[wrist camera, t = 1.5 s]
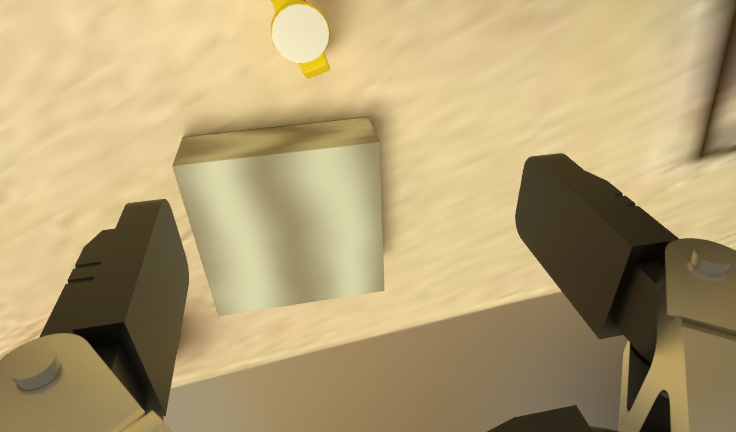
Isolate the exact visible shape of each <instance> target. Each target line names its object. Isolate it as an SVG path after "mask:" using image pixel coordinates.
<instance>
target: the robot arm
mask: <svg viewBox="0 0 736 432" xmlns="http://www.w3.org/2000/svg"><path fill="white" fill-rule="evenodd" d="M515 220H516V227H517V231H518V234H519V236H520V238H521V239H522V241H523V242H524V243H525V244H526V246H527V247H528V248H529V250H530V251H531V252H532V253H533V255H534V256H535V257H536V259H537V260H538V261H539V262H540V264H541V265H542V266H543V268H544V269H545V270H546V271H547V273H548V274H549V275H550V277H551V278H552V279H553V280H554V282H555V283H556V284H557V286H558V287H559V288H560V289H561V291H562V292H563V293H564V294H565V296H566V297H567V298H568V300H569V301H570V302H571V303H572V305H573V306H574V307H575V309H576V310H577V311H578V312H579V314H580V315H581V316H582V318H583V319H584V320H585V321H586V323H587V324H588V325H589V327H590V328H591V329H592V331H593V332H594V333H595V334H596V336H597V337H598V338H599V339H603V338H608V337H614V336H619V335H624V336H625V337H626V338H627V339H628V342H627V345H626V347H625V349H624V353H623V369H622V383H621V399H620V415H619V426H618V431H615V430H611V429H606V428H599V427H593V426H589V425H588V423H587V422H586V420H585V419H584V417H583V416H582V414H581V412H580V411H579V409H578V408H577V406H576V405H574V406H569V407H564V408H559V409H554V410H549V411H545V412H540V413H534V414H529V415H525V416H520V417H515V418H512V419H511V420H509V421H507V422H505V423H503V424H501V425H499V426H497V427H495V428H493V429H491V430H490V431H488V432H736V251H735V250H733V249H731V248H729V247H726V246H724V245H721V244H718V243H715V242H712V241H708V240H702V239H694V238H685V239H679V238H677V237H676V236H675V235H674V234H672V233H671V232H670V231H669V230H668V229H666V228H665V227H664V226H663V225H661V224H660V223H659V222H658V221H656V220H655V219H654V218H653V217H651V216H650V215H649V214H648V213H646V212H645V211H644V210H643V209H641V208H640V207H639V206H635V203H634V202H633V201H632V200H630V199H629V198H628V197H627V196H623V195H622V192H620V191H619V190H618V189H617V188H615V187H614V186H613V185H612V184H610V183H609V182H608V181H606V180H604V179H602V178H600V177H598V176H595V175H593V174H591V173H589V172H587V171H584V170H583V169H582V168H581V167H580V166H578V165H577V164H576V163H575V162H574V161H572V160H571V159H570V158H569V157H568V156H566V155H565V154H563V153H558V154H549V155H541V156H532V157H529V158H528V159H527V160H526V162H525V165H524V169H523V174H522V180H521V186H520V191H519V197H518V203H517V208H516V215H515ZM75 267H76V268H75V269H73V270H72V272H71V274H70V276H69V278H68V284H66V285H65V287H64V289H63V291H62V293H61V295H60V297H59V299H58V301H57V303H56V305H55V307H54V309H53V311H52V313H51V315H50V317H49V319H48V321H47V323H46V325H45V327H44V329H43V331H42V333H41V335H40V337H39V338H37V339H34V340H32V341H29V342H27V343H25V344H23V345H21V346H19V347H18V348H16V349H14V350H13V351H11V352H10V353H8V354H7V355H6V356H4V357H3V358H2V359H1V360H0V432H172V431H171V430H170V429H169V428H168V427H167V425H166V424H165V423H164V422H163V421H162V420H161V418H160V417H161V416H166V410H167V405H168V399H169V393H170V388H171V382H172V376H173V371H174V365H175V359H176V354H177V348H178V342H179V337H180V331H181V325H182V319H183V314H184V308H185V302H186V297H187V291H188V285H189V272H188V264H187V259H186V255H185V252H184V249H183V245H182V242H181V239H180V236H179V232H178V229H177V226H176V222H175V219H174V216H173V213H172V209H171V207H170V204H169V202H168V201H167V200H166V199H160V200H151V201H143V202H134V203H128V204H126V205H125V207H124V210H123V212H122V214H121V217H120V219H119V221H118V224H117V226H116V228H115V229H109V230H102V231H101V232H100V233H99V234H98V235H97V236H96V237H95V238H94V239H92V240H91V241H90V242H89V243H88V244H87V245H86V246H85V247H84V248H83V250H82V252H81V254H80V256H79V258H78V260H77V262H76V264H75Z"/></svg>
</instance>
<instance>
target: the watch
mask: <svg viewBox="0 0 736 432" xmlns="http://www.w3.org/2000/svg"><path fill="white" fill-rule="evenodd" d="M272 3H273V6H274V8H275V11H276V13H275V15H274V17H273V20H272V23H271V36H272V40H273V43H274V46H275V47H276V49H277V50H278V52H279V53H280V54H281V55H282V56H284V57H285V58H286V59H288V60H290V61H293V62H297V63H299V65H300V67H301V70H302V71H303V73H304V75H305V76H306V78H308V79H310V78H312V77H315V76H317V75H319V74H322V73H324V72H327V71H329V70H330V66H329V64H328V61H327V59H326V56H325V53H324V50H325V49H326V47H327V44H328V42H329V34H330V31H329V26H328V22H327V20H326V18H325V17H324V15H323V13H322V12H321V11H320V10H319V9H318V8H317V7H316V6H315V5H313V4H311V3H309V2H307V1H304V0H272Z"/></svg>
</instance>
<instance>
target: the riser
mask: <svg viewBox="0 0 736 432" xmlns="http://www.w3.org/2000/svg"><path fill="white" fill-rule="evenodd" d="M173 170H174V173H175V176H176V179H177V183H178V186H179V189H180V192H181V196H182V199H183V202H184V205H185V209H186V212H187V215H188V219H189V222H190V225H191V228H192V232H193V235H194V238H195V241H196V245H197V248H198V251H199V254H200V258H201V261H202V264H203V267H204V271H205V274H206V277H207V280H208V284H209V287H210V290H211V293H212V297H213V300H214V303H215V306H216V310H217V313H218V316H223V315H229V314H236V313H242V312H249V311H255V310H262V309H269V308H275V307H282V306H288V305H295V304H301V303H308V302H314V301H321V300H327V299H334V298H340V297H347V296H353V295H360V294H366V293H373V292H379V291H384V264H383V233H382V202H381V170H380V142H379V140H378V138H377V136H376V133H375V131H374V129H373V127H372V125H371V123H370V120H369V118H368V117H365V118H356V119H347V120H337V121H328V122H319V123H310V124H301V125H291V126H282V127H273V128H264V129H255V130H245V131H236V132H227V133H218V134H209V135H199V136H190V137H183V138H182V141H181V143H180V146H179V149H178V152H177V155H176V157H175V160H174V163H173Z"/></svg>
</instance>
